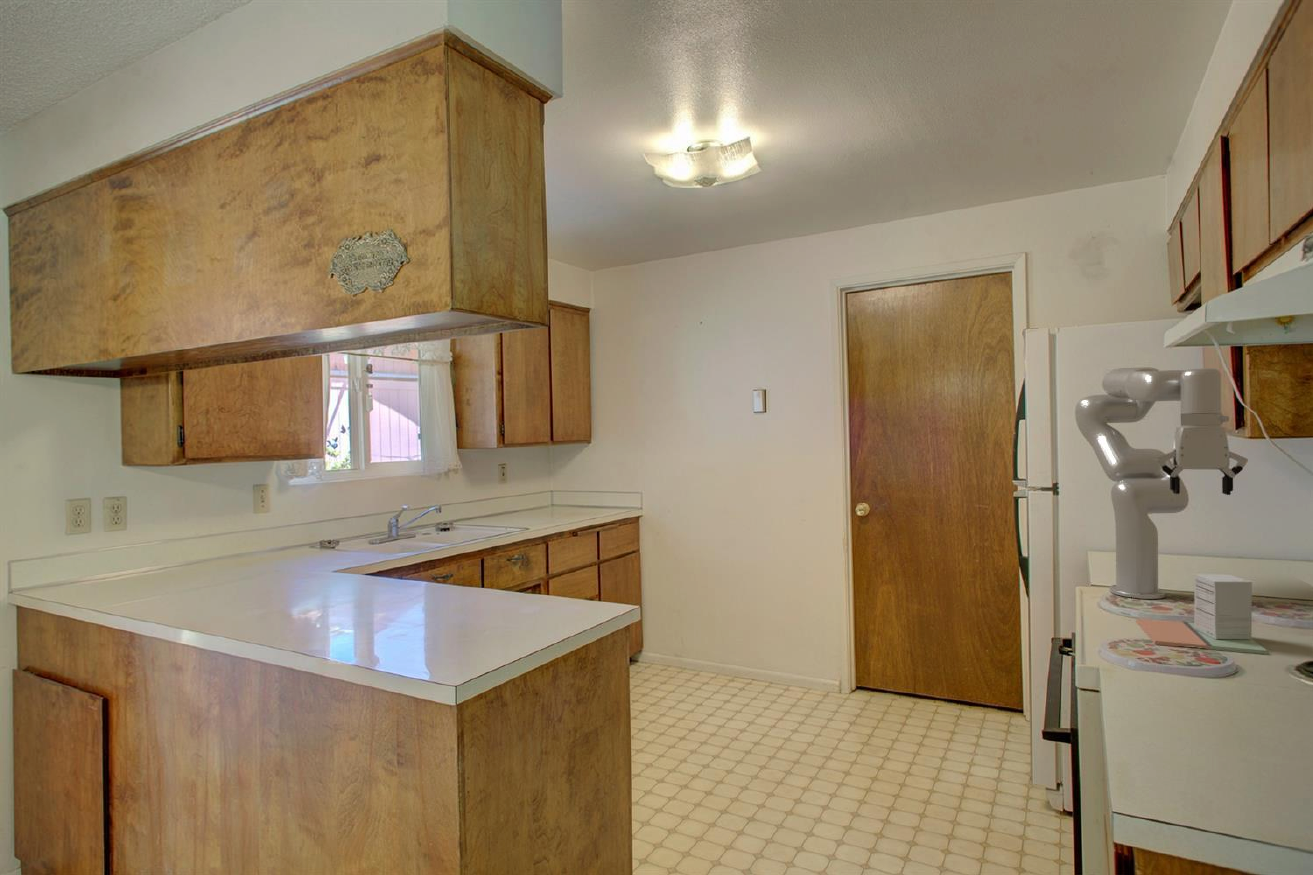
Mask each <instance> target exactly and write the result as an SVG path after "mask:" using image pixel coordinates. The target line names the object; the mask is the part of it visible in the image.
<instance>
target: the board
mask: <svg viewBox="0 0 1313 875" xmlns="http://www.w3.org/2000/svg"><path fill="white" fill-rule="evenodd" d="M1135 623H1136V624H1137V625H1138V626H1139V627H1140V628H1141V630H1142V631H1143V632H1144V633H1145V634H1146V636H1147V637H1148V638H1149V640H1150V641H1151V642H1152V643H1153V644H1154V645H1157V646H1167V647H1168V646H1169V647H1178V646H1194V647H1201V648H1206V649H1205V650H1212V651H1213V650H1214V651H1224V652H1236V653H1246V654H1258V655H1268V649H1266V648H1265V647H1263V646H1262V645H1261V644H1259V643H1258V642H1257V641H1255V640H1254V639H1253V638H1252V637H1251V639H1250V640H1249V639H1214V638H1212V637H1210V636H1208V635H1206V634H1204V633H1201V632H1199V631H1197V630H1195V628H1194V622H1188V621H1176V620H1175V621H1173V620H1164V619H1163V620H1162V619H1148V618H1139V617H1138V618H1136V617H1135Z"/></svg>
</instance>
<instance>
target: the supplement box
mask: <svg viewBox="0 0 1313 875" xmlns="http://www.w3.org/2000/svg"><path fill="white" fill-rule="evenodd" d="M1193 583H1194V584H1193V585H1194V589H1193V590H1194V593H1193V594H1194V596H1193V597H1194V599H1193V600H1194V603H1193V604H1194V610H1193V612H1194V613H1193V614H1194V615H1193V616H1194V617H1193V619H1194V622H1193V623H1194V628H1195V630H1197V631H1199V632H1201V633H1204V634H1206V635H1208V636H1210V637H1212V638H1214V639H1249V640H1250V639H1251V638H1252V631H1253V630H1252V619H1253V618H1252V608H1253V607H1252V606H1253V605H1252V604H1253V603H1252V602H1253V601H1252V598H1253V597H1252V596H1253V595H1252V586H1253V582H1252V581H1250V580H1248V579H1244V578H1241V577H1237V576H1235V575H1233V574H1230V573H1229V574H1228V573H1227V574H1226V573H1225V574H1223V573H1222V574H1221V573H1219V574H1217V573H1216V574H1213V573H1212V574H1210V573H1207V574H1206V573H1205V574H1204V573H1194V582H1193Z"/></svg>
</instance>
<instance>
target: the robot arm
mask: <svg viewBox="0 0 1313 875" xmlns="http://www.w3.org/2000/svg"><path fill="white" fill-rule="evenodd" d="M1101 386H1102V389H1103V390H1104V392H1105V393H1106V394H1096V395H1093V394H1092V395H1087V396H1085V397H1083V398H1081V399H1080V400H1079V401H1078V402H1077V403H1076V405H1075V411H1074V415H1075V421H1076V425H1077V428H1078V430H1079V431H1080V433H1081V435H1082V436H1083V437H1084V438H1085V439H1086V441H1087V442H1088V443H1089V445H1090V446H1091V448H1092V449H1093V451H1094V454H1095V456H1096V457H1097V459H1098V461H1099V464H1100V466H1101V468H1102V470H1103V471H1104V474H1105V475H1106V476H1107V477H1108V479H1110V480H1111V481H1113V482H1115V483H1114V484H1113V486H1112V488H1111V491H1110V497H1111V498H1110V499H1111V503H1112V507H1113V512H1114V520H1115V521H1114V522H1115V583H1116V584H1113V585H1110V586H1109V592H1111V593H1112V594H1114V595H1118V596H1121V597H1126V598H1131V597H1132V599H1142V600H1143V599H1144V600H1157V599H1158V600H1159V599H1162V598H1163V599H1164V598H1165V597H1166V591H1164V590H1163V589H1160V588H1159V533H1158V532H1159V531H1158V528H1157V526H1156V525H1155V523H1154V522H1153V520H1152V519H1151V518H1150V516H1149V515H1151V514H1177V513H1180V512H1183V511H1184V510H1185V509H1186V508H1187V507H1188V505H1189V502H1190V501H1189V493H1188V489H1187V487H1186V486H1185V483H1184V482H1183V479H1182V478H1181V476H1180V474H1181V472H1183V470H1218V471H1220V472H1221V473H1222V474H1223V476H1222V477H1221V484H1222V485H1221V491H1222V492H1221V493H1222V494H1223V495H1226V496H1230V495H1231V493H1232V492H1233V491H1234V478H1235V477H1236V475H1239V473H1240V472H1242V471H1243V469H1244V467H1245V466H1246V464H1247V463H1248V458H1247V457H1244V456H1241V455H1240V454H1237V453H1234V452H1232V451H1230V449H1229V448H1230V447H1229V442H1228V436H1227V431H1226V428H1225V426H1222V425H1223V423H1225V422H1230V418H1229V416H1228V415H1223V413H1222V375H1221V372H1220V370H1218V369H1217V368H1211V367H1210V368H1209V367H1208V368H1207V367H1206V368H1191V369H1174V370H1173V369H1169V370H1167V369H1166V370H1160V369H1157V368H1155V367H1120V368H1119V367H1118V368H1115V369H1112V370H1110V371H1109V372H1107V373H1106V374H1105V375H1104V377H1103V378H1102V381H1101ZM1172 401H1173V402H1175V401H1176V402H1177V401H1178V402H1179V401H1180V427H1179V426H1178V427H1175V432H1174V437H1173V438H1174V439H1173V444H1172V445H1173V447H1172V451H1170V452H1168V453H1165V452H1164V451H1162V450H1159V449H1157V448H1134V447H1132V446H1131V445H1130V444H1129V442H1128V440H1127V439H1126V437H1125V436H1124V434H1122V432H1121V431H1119V430H1118V429H1117V428H1114V427H1113V426H1111V425H1110V424H1123V423H1124V424H1125V423H1126V424H1128V423H1129V424H1131V423H1132V424H1133V423H1137V422H1140V421H1142V420H1143V419H1144V418H1145V417H1146V416H1147V414H1148V413H1149V412H1150V410H1151V409H1152V408H1153V406H1154V405H1155V404H1156V402H1172ZM1171 459H1172V461H1171ZM1230 459H1232V460H1234V461H1236V464H1235V466H1233V467H1232V468H1230V467H1229V466H1230Z"/></svg>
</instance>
